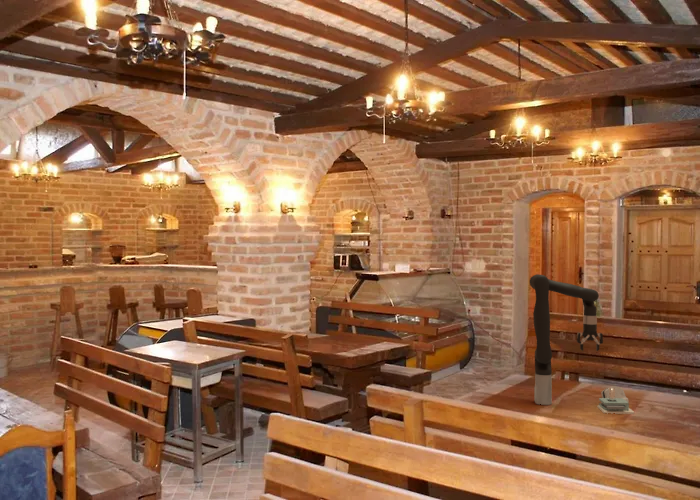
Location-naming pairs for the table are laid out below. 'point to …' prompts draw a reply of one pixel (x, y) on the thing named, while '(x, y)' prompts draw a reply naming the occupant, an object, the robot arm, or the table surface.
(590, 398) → the table surface
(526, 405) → the table surface
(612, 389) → the pin
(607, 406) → the square frame block
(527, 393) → the table surface
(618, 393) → the white black beveled block
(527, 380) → the table surface
